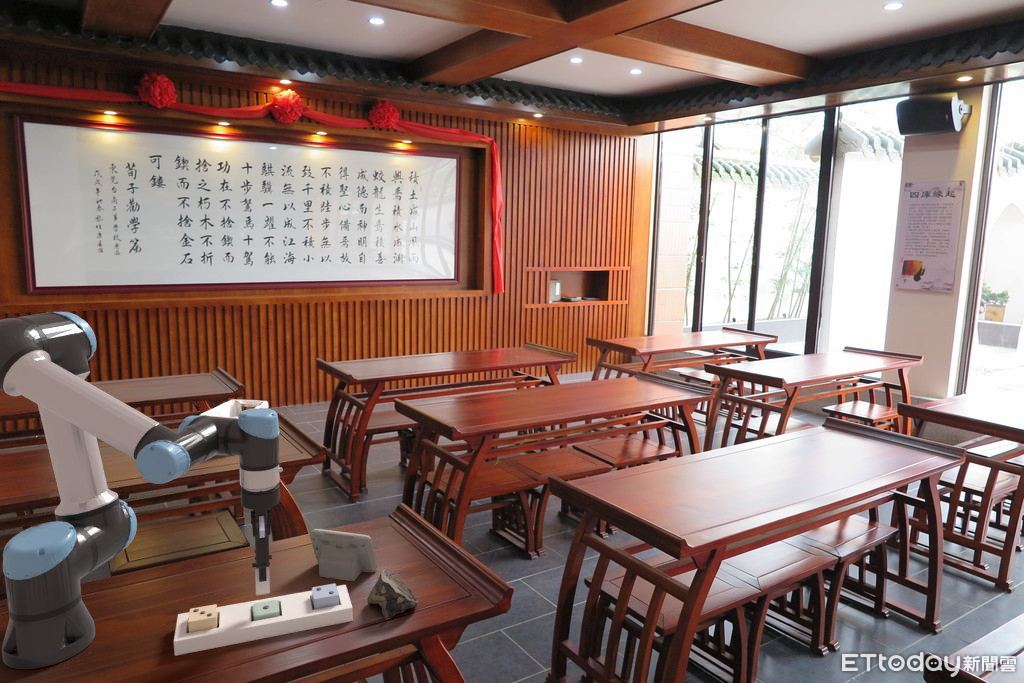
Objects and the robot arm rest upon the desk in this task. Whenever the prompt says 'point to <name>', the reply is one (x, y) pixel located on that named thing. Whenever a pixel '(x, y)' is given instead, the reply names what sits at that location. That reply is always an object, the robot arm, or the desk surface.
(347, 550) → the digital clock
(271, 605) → the tile one
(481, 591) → the desk surface
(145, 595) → the desk surface
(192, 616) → the tile three
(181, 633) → the tile panel
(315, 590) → the tile two
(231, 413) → the storage basket
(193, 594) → the desk surface
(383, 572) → the grey rock
